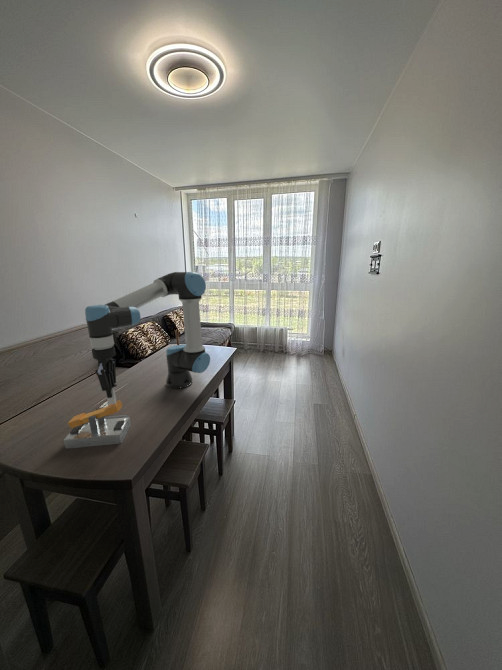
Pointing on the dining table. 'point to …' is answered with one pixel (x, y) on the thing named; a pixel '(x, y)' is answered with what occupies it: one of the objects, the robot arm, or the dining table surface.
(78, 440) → the grey bracketed base
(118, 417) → the grey rod
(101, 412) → the lever
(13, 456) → the dining table surface
